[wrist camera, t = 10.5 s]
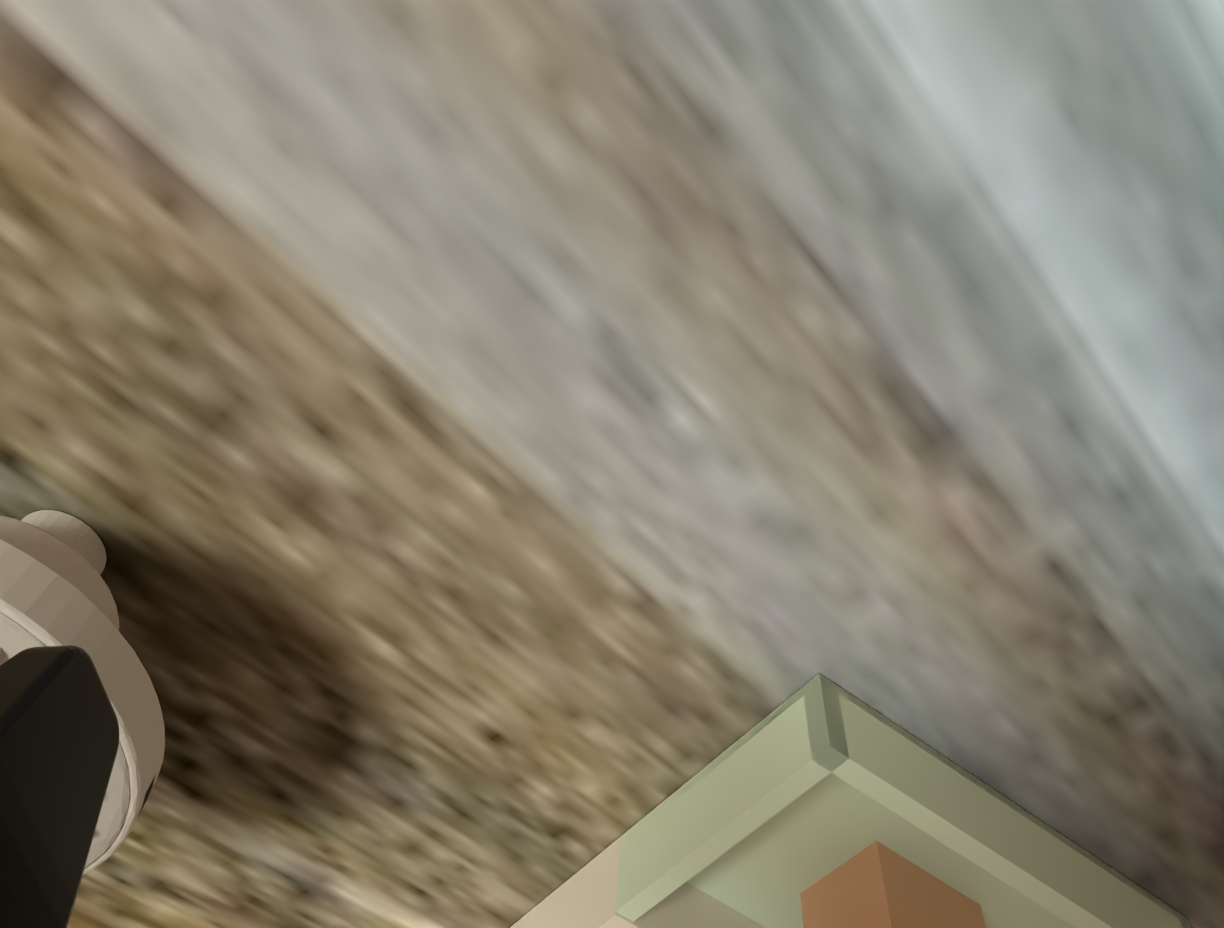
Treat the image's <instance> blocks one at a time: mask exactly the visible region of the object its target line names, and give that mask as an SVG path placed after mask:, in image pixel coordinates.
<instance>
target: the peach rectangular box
mask: <svg viewBox="0 0 1224 928" xmlns="http://www.w3.org/2000/svg"><path fill="white" fill-rule="evenodd" d="M800 896H801V907H802V917H803V927H804V928H986V925H985V921H984V917H983V913H982V910H981V906H980V904H978V903H976V902H975V901H973V900H972V899H970V898H968V897H967V896H965V895H964V894H962V893H960V892H959V891H957V890H955V889H954V888H952V887H951V886H949V885H947V884H946V883H944V882H943V881H941V880H939V879H938V878H936V877H934V876H933V875H931V874H930V873H928V872H926V871H925V870H923V869H922V868H920V867H918V866H917V865H915V864H913V863H912V862H910V861H909V860H907V859H905V858H904V857H902V856H901V855H899V854H897V853H896V852H894V851H892V850H891V849H889V848H888V847H886V846H884V845H883V844H881V843H880V842H878V841H875V842H873V843H872V844H870V845H869V846H868V847H866V848H865V849H863V850H862V851H860V852H859V853H857V854H856V855H855V856H853V857H852V858H850V859H849V860H847V861H846V862H845V863H843V864H842V865H840V866H839V867H837V868H836V869H835V870H833V871H832V872H830V873H829V874H827V875H826V876H824V877H823V878H822V879H820V880H819V881H817V882H816V883H814V884H813V885H812V886H810V887H809V888H807V889H806V890H804V891H803V892H801V893H800Z"/></svg>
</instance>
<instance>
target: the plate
mask: <svg viewBox="0 0 1224 928" xmlns="http://www.w3.org/2000/svg"><path fill="white" fill-rule="evenodd" d="M620 847H621V837H620V838H618V839H617V840H616V841H615V842H613V843H612V844H611V845H610V846H609V847H607V848H606V849H605V850H604V851H603V852H601V853H600V854H599V855H598V856H596V857H595V858H594V859H593V860H592V861H590V862H589V863H588V864H587V865H585V866H584V867H583V868H582V869H581V870H579V871H578V872H577V873H576V874H575V875H573V876H572V877H571V878H570V879H568V880H567V881H566V882H565V883H564V884H562V885H561V886H560V887H559V888H558V889H556V890H555V891H554V892H553V893H551V894H550V895H549V896H548V897H547V898H545V899H544V900H543V901H542V902H541V903H539V904H538V905H537V906H536V907H534V908H533V909H532V910H531V911H530V912H528V913H527V914H526V915H525V916H523V917H522V918H521V919H520V920H519V921H517V922H516V923H515V924H514V925H513V926H511V927H510V928H766V927H764V926H763V925H761V924H759V923H757V922H756V921H754V920H752V919H750V918H749V917H747V916H745V915H743V914H742V913H740V912H738V911H736V910H734V909H733V908H731V907H729V906H727V905H726V904H724V903H722V902H720V901H719V900H717V899H715V898H713V897H712V896H710V895H708V894H706V893H705V892H703V891H701V890H699V889H698V888H696V887H694V886H692V885H690V884H689V883H687V882H685V883H684V884H683V885H681V886H680V887H679V888H677V889H676V890H675V891H673V892H672V893H671V894H669V895H668V896H667V897H665V898H664V899H663V900H662V901H660V902H659V903H658V904H656V905H655V906H654V907H652V908H651V909H650V910H648V911H647V912H646V913H644V914H643V915H642V916H640V917H639V918H638V919H636V920H635V921H632V920H630V919H628V918H627V917H625V916H623V915H621V914H619V913H617V912H616V900H617V887H618V874H619V860H620Z"/></svg>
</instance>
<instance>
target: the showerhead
mask: <svg viewBox="0 0 1224 928" xmlns="http://www.w3.org/2000/svg"><path fill="white" fill-rule="evenodd" d="M105 565H106V552H105V548H104V546H103V543H102V541H101V540H100V538H99V537H98V535H97V534H96V533H95V532H94V531H93V530H92V528H90V527H89V526H88V525H87V524H85V523H84V522H82V521H81V520H79V519H77V518H76V517H74V516H71V515H69V514H66V513H63V512H59V511H53V510H41V511H37V512H33V513H31V514H29V515H27V516H25V517H24V518H23V519H22V520H21V521H20V520H17V519H14V518H9V517H4V516H0V665H1V664H3V663H4V662H6V661H7V660H9V659H10V658H12V657H13V656H15V655H16V654H18V653H19V652H21V651H23V650H25V649H28V648H33V647H44V646H67V645H73V646H77V647H81V648H82V649H84V650H85V651H86V652H87V653H88V654H89V656H90V657H91V659H92V661H93V663H94V666H95V668H96V670H97V672H98V675H99V677H100V679H101V682H102V684H103V686H104V689H105V691H106V693H107V695H108V698H109V700H110V702H111V705H112V707H113V709H114V712H115V714H116V717H117V720H118V725H119V746H118V751H117V755H116V758H115V762H114V766H113V769H112V773H111V776H110V780H109V783H108V787H107V790H106V794H105V797H104V801H103V805H102V808H101V812H100V815H99V819H98V822H97V826H96V829H95V833H94V837H93V840H92V844H91V847H90V851H89V854H88V858H87V861H86V865H85V868H84V872H83V875H84V874H86V873H88V872H90V871H91V870H93V869H94V868H96V867H98V866H99V865H101V864H102V863H103V862H104V861H106V860H107V859H108V858H109V857H110V856H112V855H113V854H114V853H115V852H116V850H117V849H118V848H119V847H120V846H121V845H122V844H123V842H124V841H125V839H126V838H127V836H128V834H129V833H130V831H131V829H132V827H133V825H134V824H135V822H136V820H137V818H138V816H139V814H140V812H141V810H142V808H143V806H144V804H145V802H146V800H147V798H148V796H149V794H150V792H151V791H152V789H153V787H154V784H155V782H156V779H157V777H158V774H159V772H160V769H161V765H162V762H163V759H164V750H165V728H164V721H163V716H162V711H161V707H160V704H159V700H158V697H157V694H156V692H155V689H154V687H153V684H152V682H151V679H150V677H149V675H148V673H147V671H146V670H145V668H144V666H143V665H142V663H141V661H140V660H139V658H138V656H137V655H136V653H135V651H134V650H133V648H132V647H131V646H130V645H129V643H128V642H127V641H126V640H125V638H124V637H123V636H122V635H121V633H120V632H119V617H118V612H117V607H116V603H115V601H114V599H113V596H112V594H111V592H110V589H109V588H108V586H107V585H106V583H105V582H104V580H103V579H102V577H101V576H100V574H101V573H102V572H103V570H104V568H105Z"/></svg>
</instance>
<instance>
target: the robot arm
mask: <svg viewBox="0 0 1224 928" xmlns="http://www.w3.org/2000/svg"><path fill="white" fill-rule="evenodd" d="M118 746H119V725H118V720H117V717H116V714H115V712H114V709H113V707H112V705H111V702H110V700H109V698H108V695H107V693H106V691H105V689H104V686H103V684H102V682H101V679H100V677H99V675H98V672H97V670H96V668H95V666H94V663H93V661H92V659H91V657H90V656H89V654H88V653H87V652H86V651H85V650H84V649H82V648H81V647H77V646H73V645H67V646H44V647H33V648H28V649H25V650H23V651H21V652H19V653H18V654H16V655H15V656H13V657H12V658H10V659H9V660H7V661H6V662H4V663H3V664H1V665H0V928H67V926H68V923H69V919H70V916H71V913H72V910H73V907H74V904H75V900H76V897H77V893H78V890H79V886H80V883H81V879H82V876H83V872H84V868H85V865H86V861H87V858H88V854H89V851H90V847H91V844H92V840H93V837H94V833H95V829H96V826H97V822H98V819H99V815H100V812H101V808H102V805H103V801H104V797H105V794H106V790H107V787H108V783H109V780H110V776H111V773H112V769H113V766H114V762H115V758H116V755H117V751H118Z"/></svg>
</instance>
